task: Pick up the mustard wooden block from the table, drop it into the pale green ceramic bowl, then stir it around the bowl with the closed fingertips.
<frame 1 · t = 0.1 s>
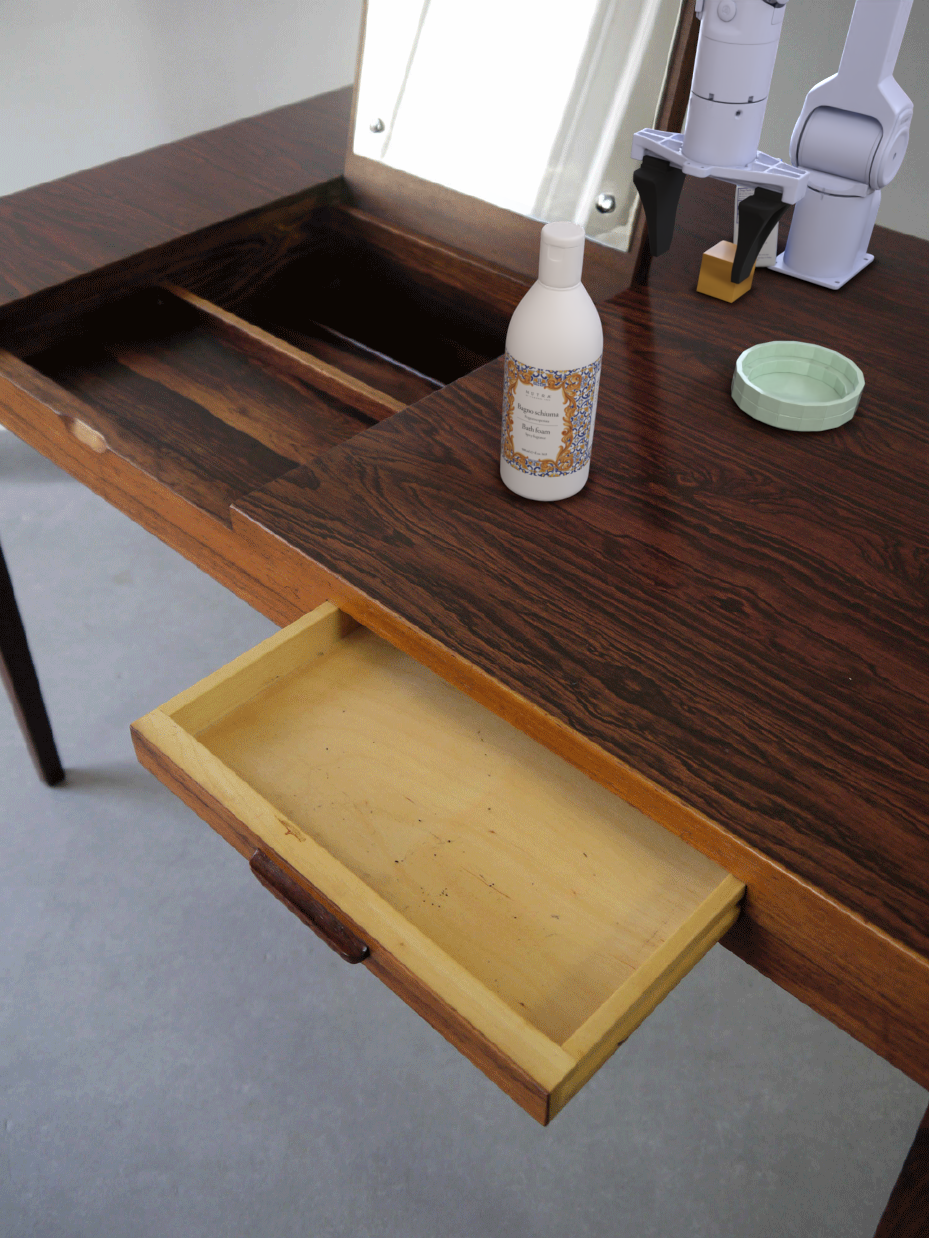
hand: (699, 265, 88), 10 cm above the table, tool pointing down, fingers open, 7 cm apart
block: (723, 290, 107), on the table
medicine box: (754, 255, 113), on the table, touching arm
bath foam: (543, 480, 83), on the table
bowl: (791, 402, 92), on the table
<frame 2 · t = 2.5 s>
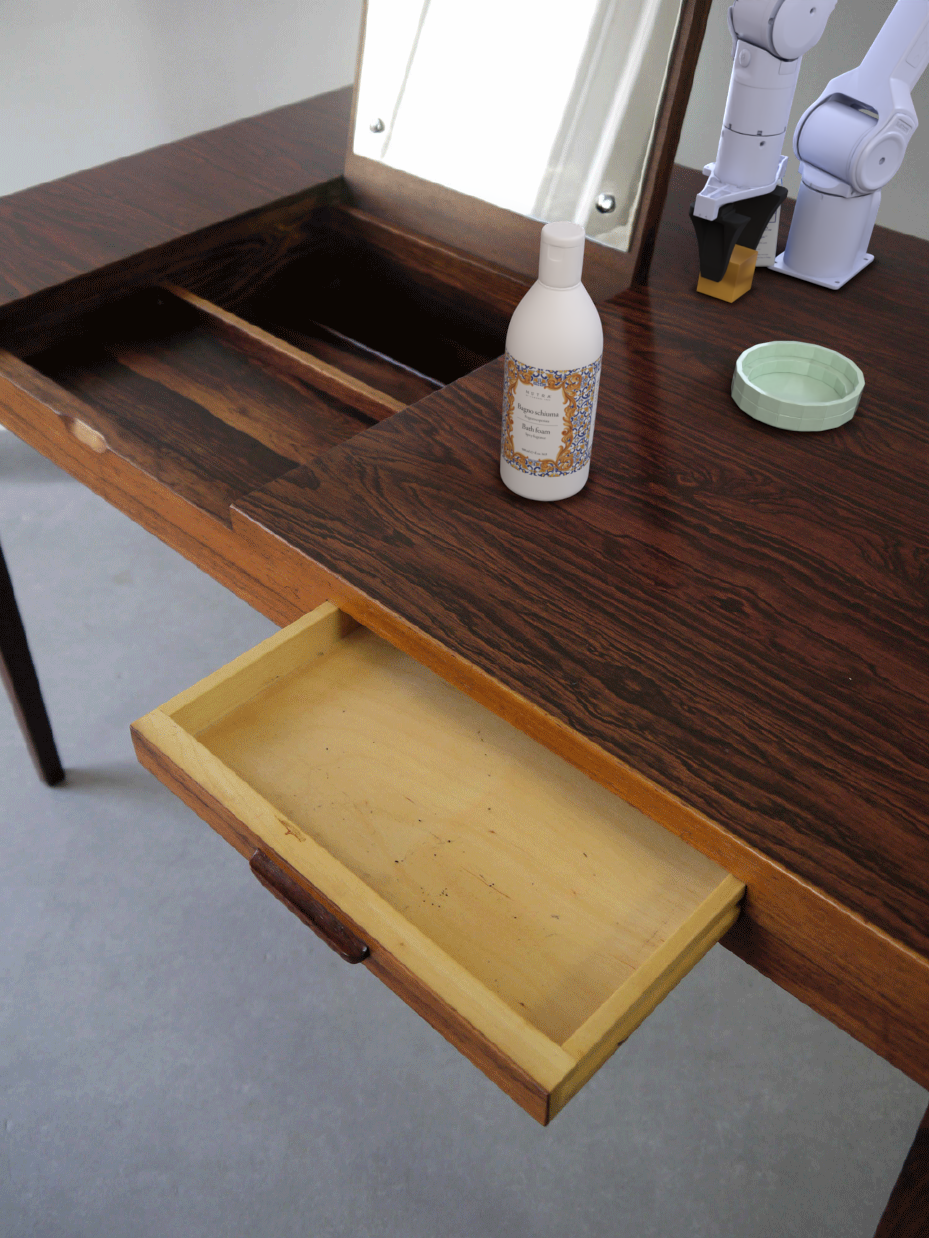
hand: (725, 268, 105), 2 cm above the table, tool pointing down, fingers open, 5 cm apart
medicine box: (751, 254, 113), on the table, touching arm, gripper
everything else where it was.
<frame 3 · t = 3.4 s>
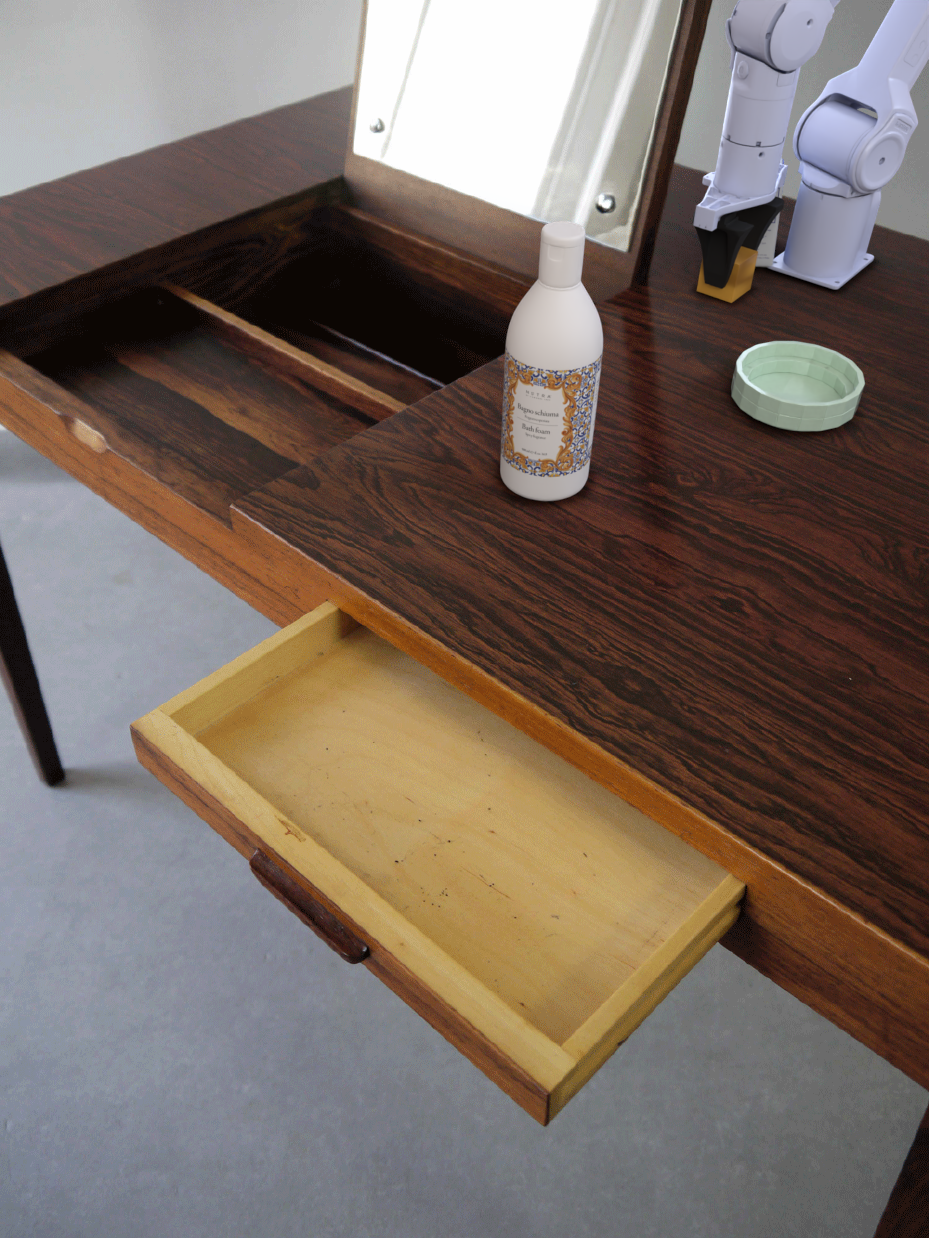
hand: (726, 277, 106), 1 cm above the table, tool pointing down, fingers closed on block, 4 cm apart
block: (723, 290, 107), on the table, touching gripper
medicine box: (751, 254, 113), on the table, touching arm
everything else where it was.
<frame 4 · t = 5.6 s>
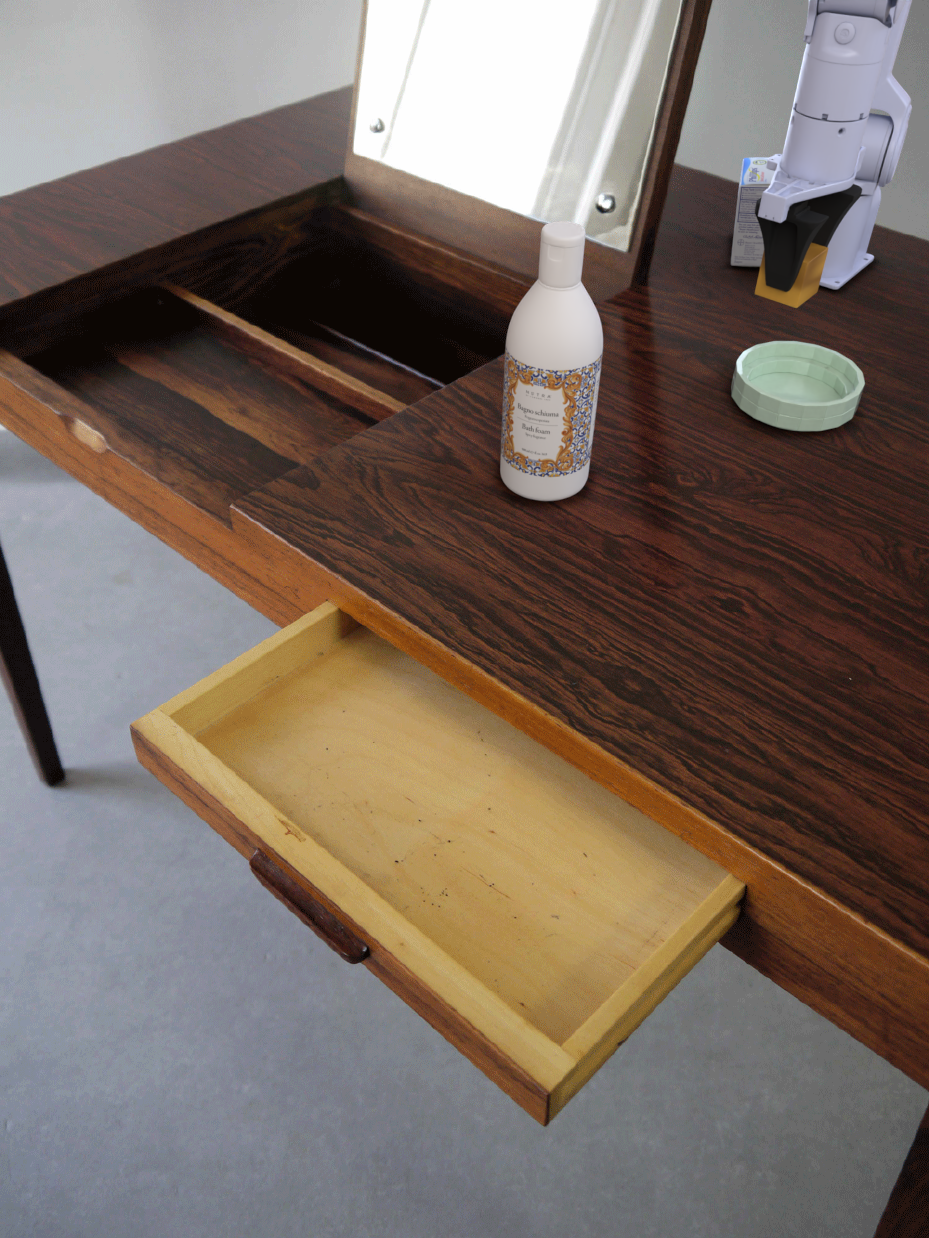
hand: (790, 278, 90), 8 cm above the table, tool pointing down, fingers closed on block, 4 cm apart
block: (785, 293, 91), point 7 cm above the table, touching gripper
everything else where it was.
when the fingers open (2 cm above the table, at t = 8.2 s): block stays where it is, resting on bowl.
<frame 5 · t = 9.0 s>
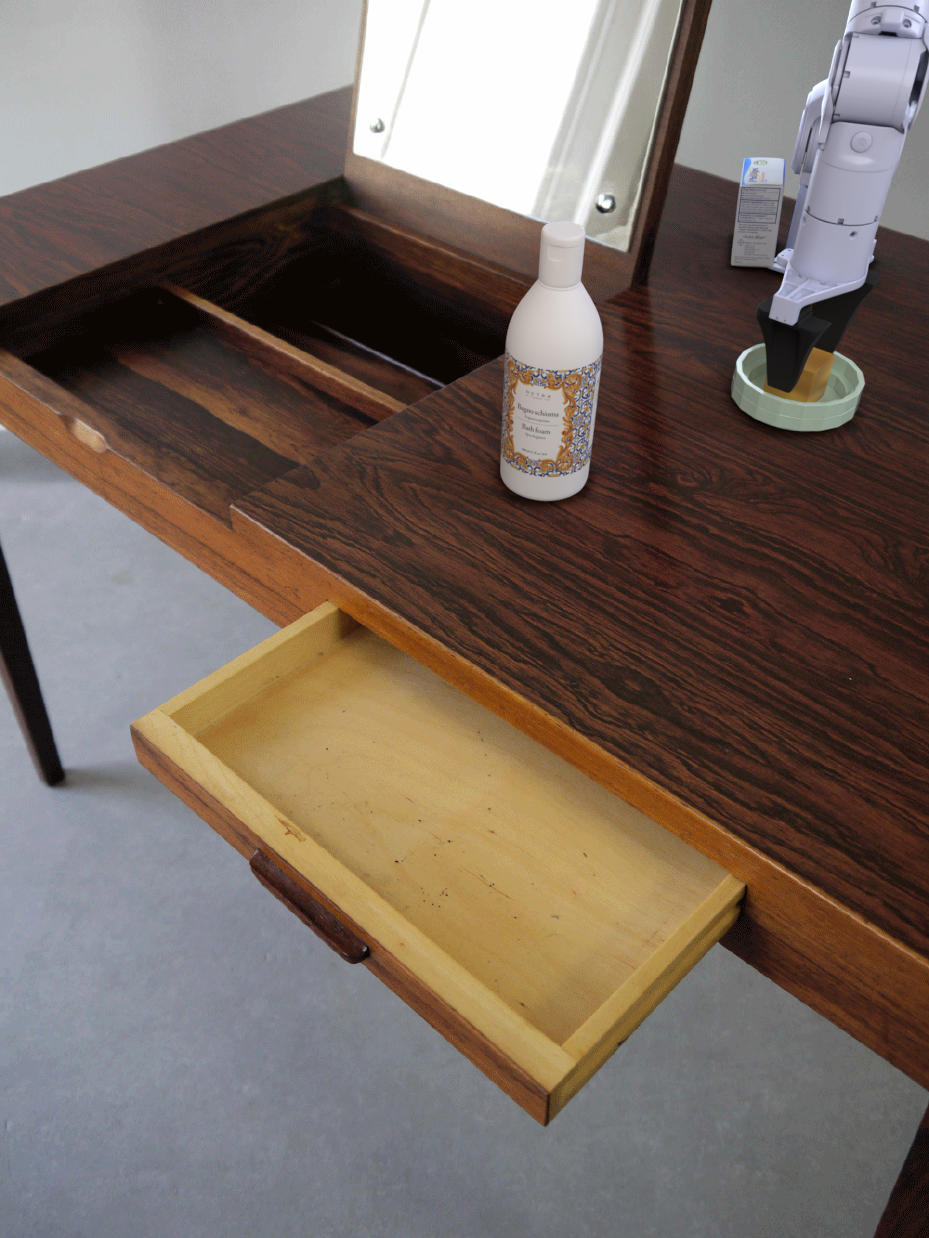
hand: (800, 369, 90), 3 cm above the table, tool pointing down, fingers open, 7 cm apart
block: (792, 397, 91), resting on bowl
everything else where it was.
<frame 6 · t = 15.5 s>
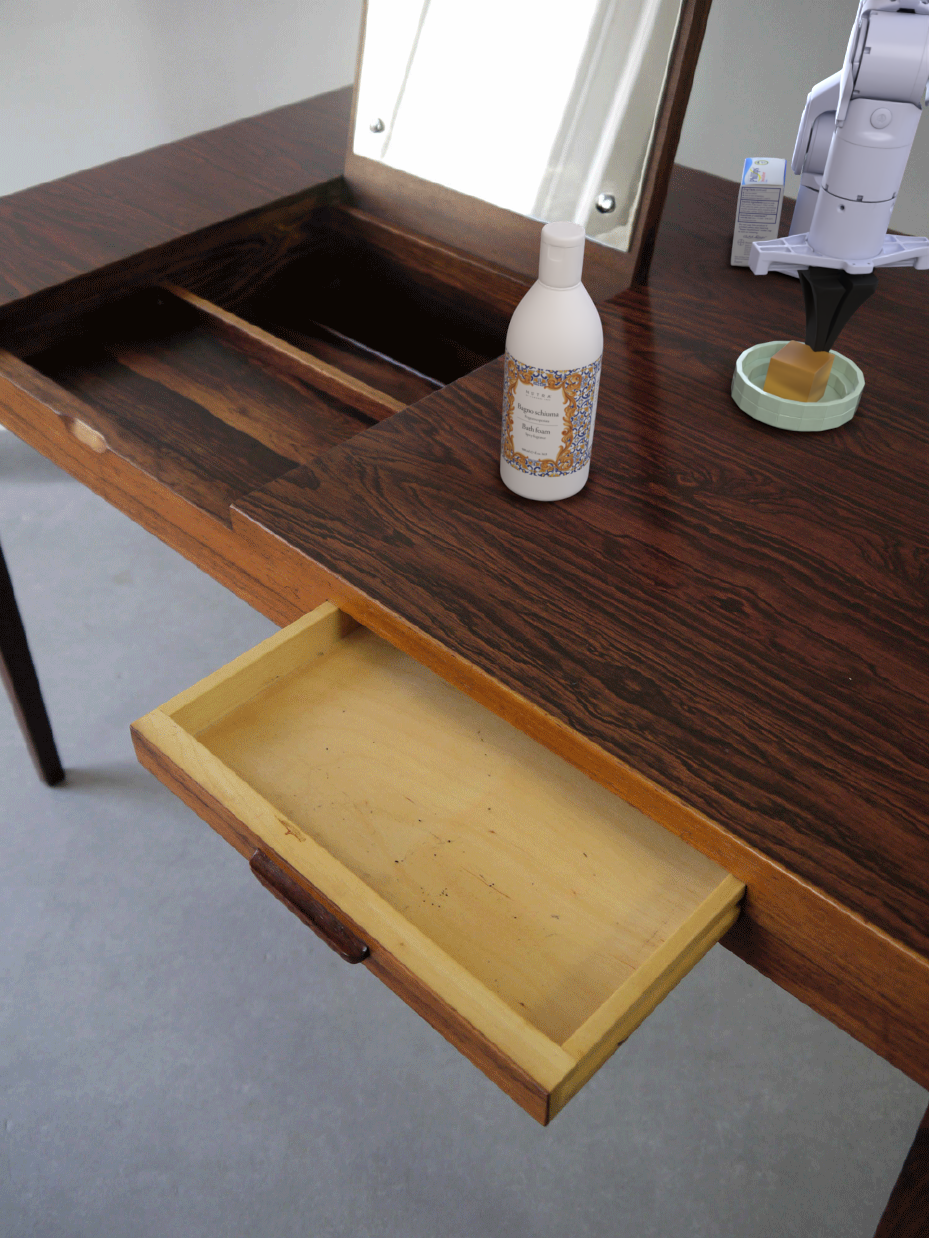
hand: (816, 348, 90), 4 cm above the table, tool pointing down, fingers closed, pressing on block
block: (792, 397, 91), resting on bowl, touching gripper
everything else where it was.
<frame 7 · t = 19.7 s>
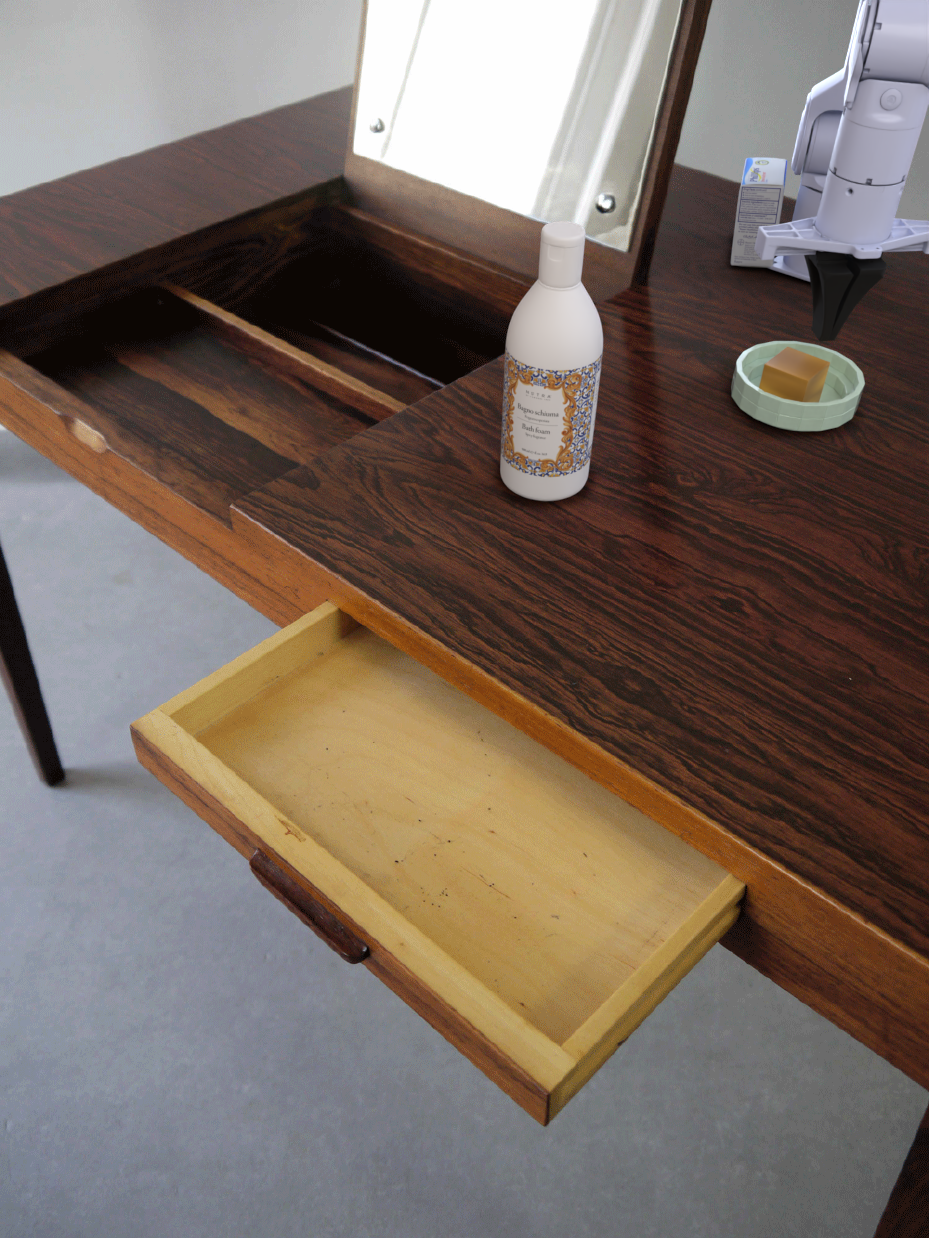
hand: (823, 335, 89), 6 cm above the table, tool pointing down, fingers closed
block: (786, 404, 90), resting on bowl
everything else where it was.
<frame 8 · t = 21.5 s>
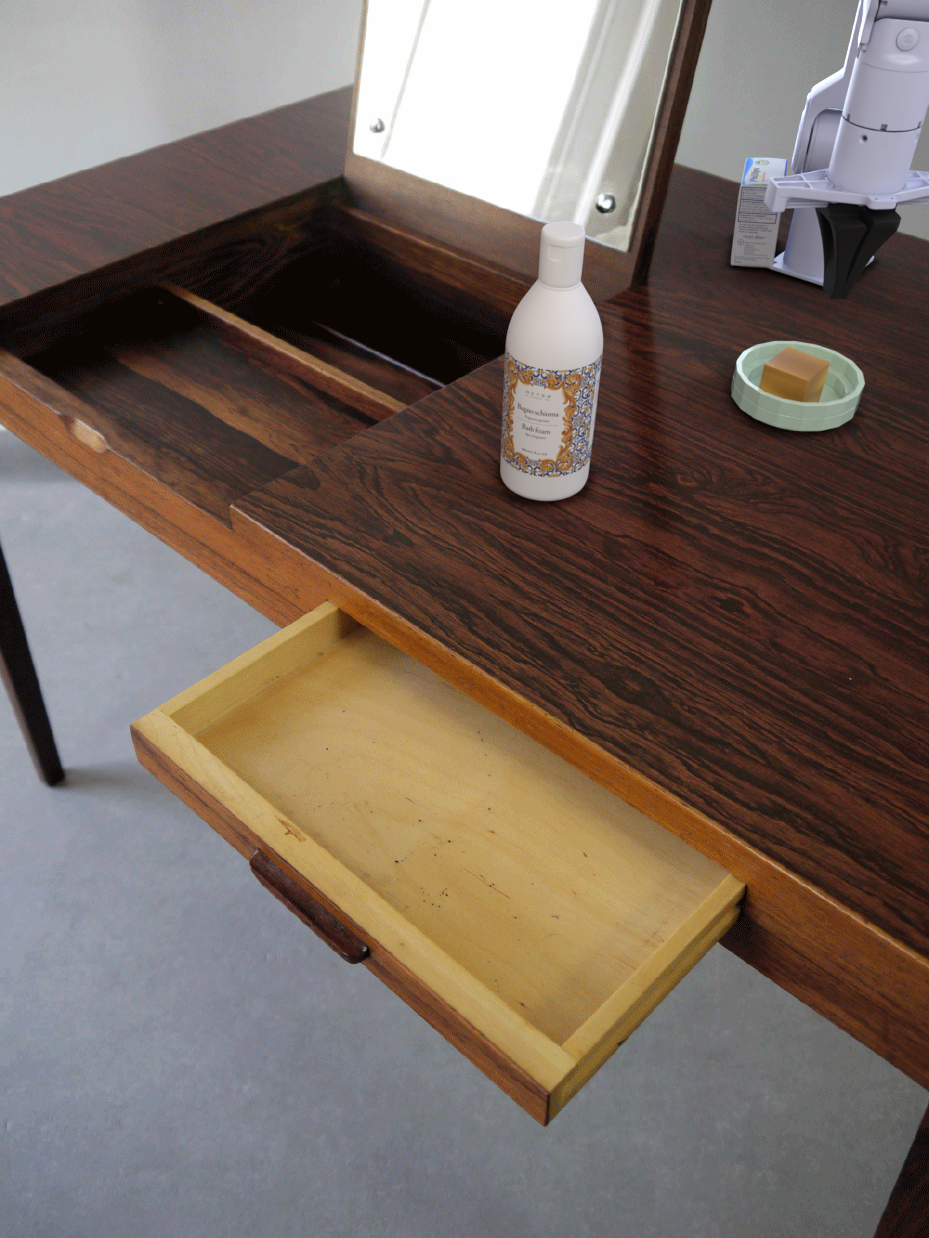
hand: (834, 293, 86), 9 cm above the table, tool pointing down, fingers closed
nothing on the table moved.
at the end: block inside the target area in the bowl (1.5 cm from its centre), point 0.5 cm above the bowl's base; block moved 22.3 cm from its start; the gripper is holding nothing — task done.
